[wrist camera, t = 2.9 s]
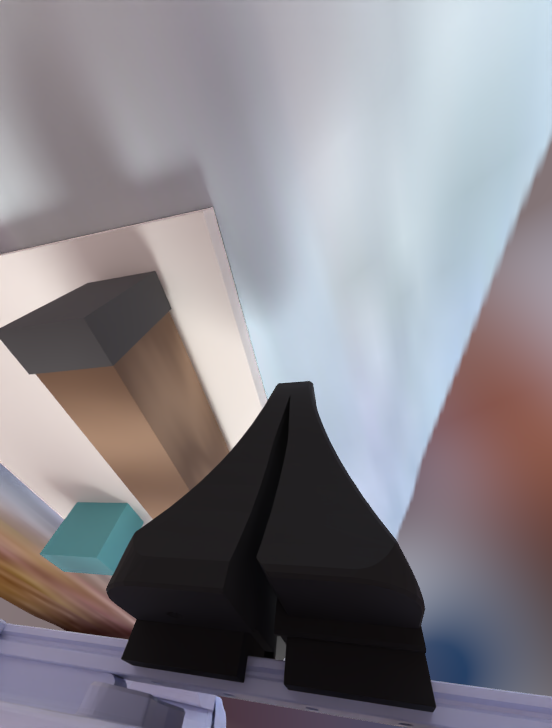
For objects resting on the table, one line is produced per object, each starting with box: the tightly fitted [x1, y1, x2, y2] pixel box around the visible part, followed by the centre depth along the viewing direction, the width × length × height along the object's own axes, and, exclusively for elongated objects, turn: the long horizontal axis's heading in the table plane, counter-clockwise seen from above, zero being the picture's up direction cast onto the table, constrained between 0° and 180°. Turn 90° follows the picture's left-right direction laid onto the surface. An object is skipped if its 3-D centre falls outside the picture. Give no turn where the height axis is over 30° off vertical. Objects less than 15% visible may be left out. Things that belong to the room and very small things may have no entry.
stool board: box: [0, 207, 267, 575], centre depth 18 cm, size 23×22×5 cm
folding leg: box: [0, 271, 229, 519], centre depth 14 cm, size 16×3×5 cm, turn 11°
